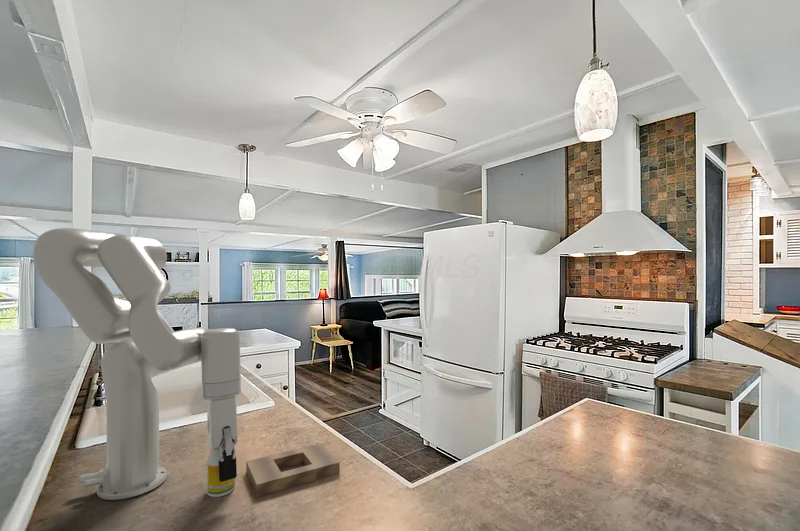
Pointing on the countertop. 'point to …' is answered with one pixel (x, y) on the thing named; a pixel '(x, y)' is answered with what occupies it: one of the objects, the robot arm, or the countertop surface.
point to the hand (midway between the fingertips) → (224, 469)
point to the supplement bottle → (217, 476)
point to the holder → (272, 479)
